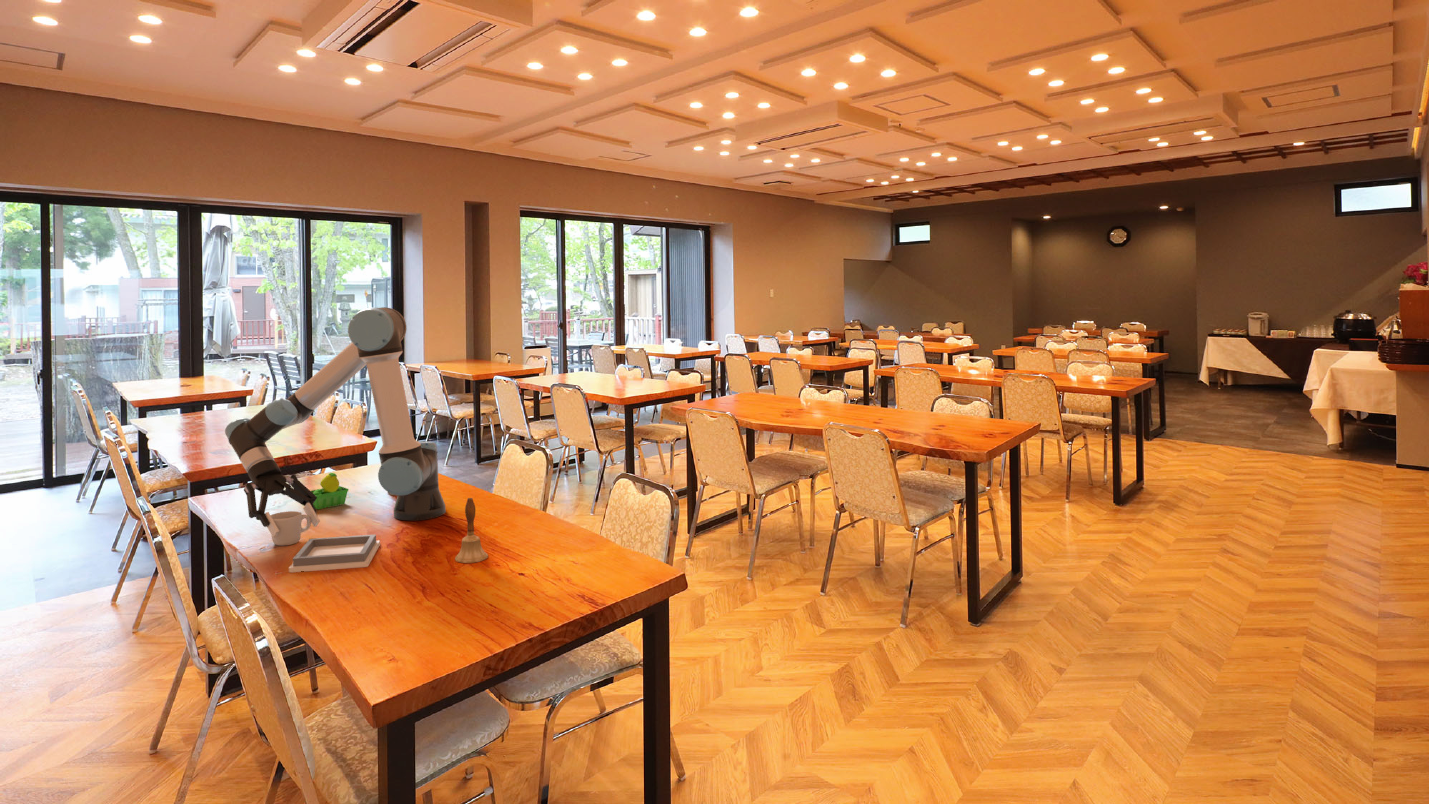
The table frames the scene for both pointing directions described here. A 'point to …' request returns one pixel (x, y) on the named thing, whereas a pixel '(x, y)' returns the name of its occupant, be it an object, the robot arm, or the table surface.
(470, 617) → the table surface
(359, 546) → the gray rimmed square tray
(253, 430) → the robot arm
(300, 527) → the cup
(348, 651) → the table surface
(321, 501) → the fruit basket
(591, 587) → the table surface
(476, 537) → the hand bell
